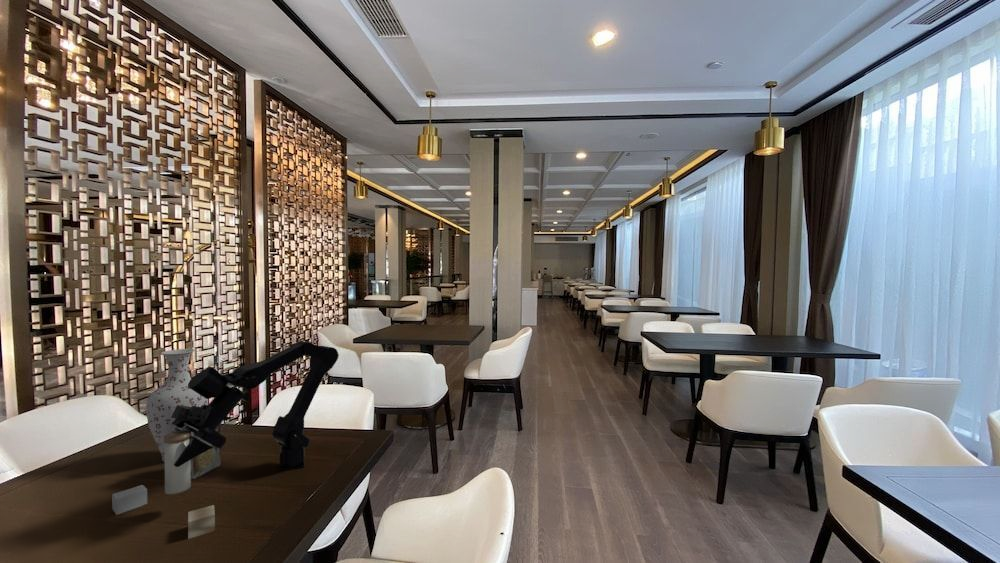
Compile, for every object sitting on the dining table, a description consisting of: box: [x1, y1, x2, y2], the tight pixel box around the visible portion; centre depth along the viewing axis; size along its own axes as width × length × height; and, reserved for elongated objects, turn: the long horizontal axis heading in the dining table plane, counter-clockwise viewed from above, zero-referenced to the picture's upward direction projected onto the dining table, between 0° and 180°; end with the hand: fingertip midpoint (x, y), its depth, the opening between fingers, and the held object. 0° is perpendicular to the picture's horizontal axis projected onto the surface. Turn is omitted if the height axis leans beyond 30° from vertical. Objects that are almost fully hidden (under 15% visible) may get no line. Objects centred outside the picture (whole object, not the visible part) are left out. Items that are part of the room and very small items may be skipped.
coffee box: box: [177, 424, 222, 480], centre depth 124 cm, size 9×6×16 cm
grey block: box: [111, 484, 148, 515], centre depth 105 cm, size 6×4×4 cm, turn 145°
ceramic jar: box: [164, 430, 192, 495], centre depth 103 cm, size 5×5×14 cm
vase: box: [145, 348, 209, 462], centre depth 134 cm, size 16×16×35 cm
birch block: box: [187, 504, 216, 540], centre depth 96 cm, size 5×5×4 cm
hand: (171, 463), depth 102 cm, fingers closed on ceramic jar, 5 cm apart
